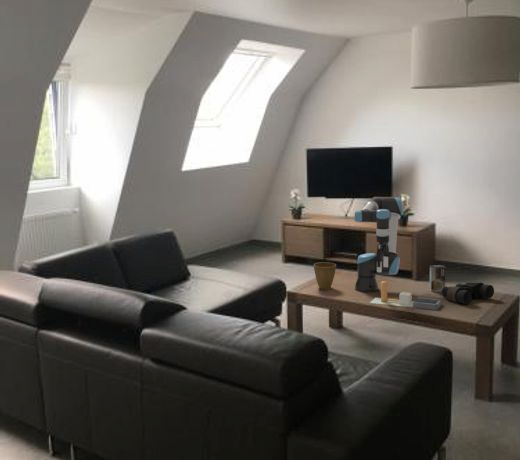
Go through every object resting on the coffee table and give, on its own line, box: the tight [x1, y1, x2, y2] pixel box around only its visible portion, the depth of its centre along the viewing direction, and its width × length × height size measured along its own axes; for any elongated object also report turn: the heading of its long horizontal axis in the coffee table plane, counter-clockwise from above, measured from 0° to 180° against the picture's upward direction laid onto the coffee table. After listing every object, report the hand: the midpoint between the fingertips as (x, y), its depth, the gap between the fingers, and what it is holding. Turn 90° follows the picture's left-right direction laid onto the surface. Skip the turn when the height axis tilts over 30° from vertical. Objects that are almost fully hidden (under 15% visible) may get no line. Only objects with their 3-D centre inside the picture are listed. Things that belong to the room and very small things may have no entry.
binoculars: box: [441, 281, 495, 305], centre depth 376 cm, size 29×20×10 cm
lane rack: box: [369, 297, 442, 311], centre depth 368 cm, size 40×12×4 cm, turn 63°
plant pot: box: [313, 261, 337, 290], centre depth 409 cm, size 15×15×16 cm
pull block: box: [380, 280, 413, 305], centre depth 370 cm, size 18×6×12 cm, turn 64°
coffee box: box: [428, 264, 446, 293], centre depth 397 cm, size 9×6×16 cm
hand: (382, 269), depth 375 cm, fingers open, 13 cm apart
